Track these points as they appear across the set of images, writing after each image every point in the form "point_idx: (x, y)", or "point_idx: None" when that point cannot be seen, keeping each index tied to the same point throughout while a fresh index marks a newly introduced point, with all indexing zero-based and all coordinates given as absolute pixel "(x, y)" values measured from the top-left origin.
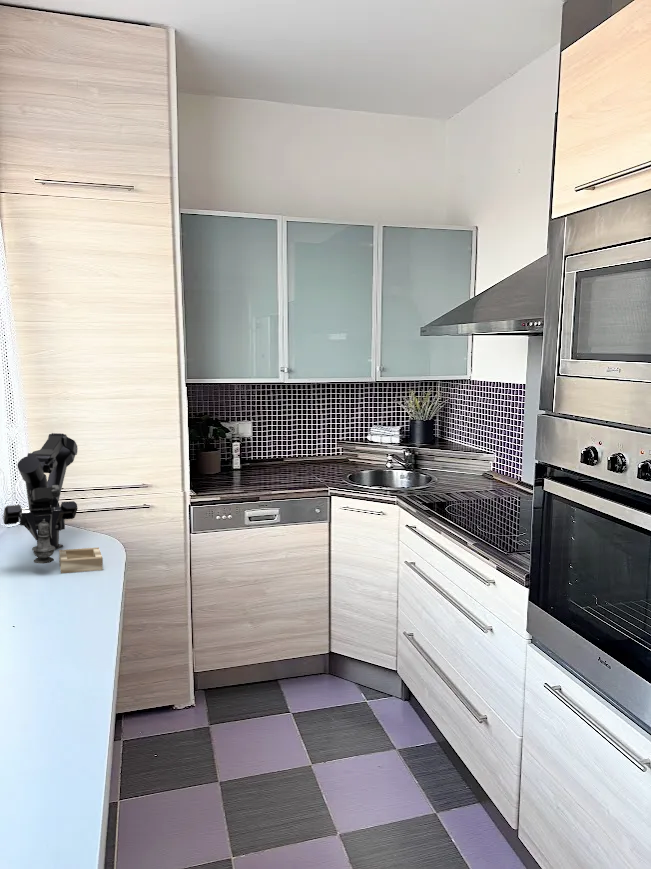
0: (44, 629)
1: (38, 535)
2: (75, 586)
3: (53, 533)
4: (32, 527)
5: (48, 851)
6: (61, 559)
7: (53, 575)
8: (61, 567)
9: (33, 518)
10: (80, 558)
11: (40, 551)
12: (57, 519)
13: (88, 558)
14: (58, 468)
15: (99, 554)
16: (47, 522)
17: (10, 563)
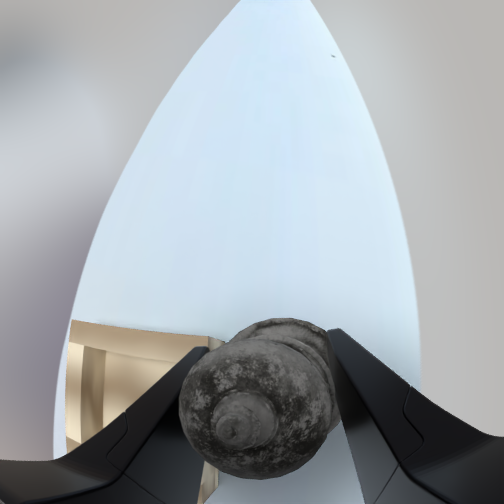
0: (286, 46)
1: (322, 369)
2: (201, 196)
3: (183, 361)
4: (401, 385)
5: None
6: None
7: None
8: (215, 339)
9: (426, 481)
10: (130, 348)
11: (304, 321)
12: (70, 452)
13: (106, 334)
14: None
15: (70, 370)
16: (192, 407)
17: None
